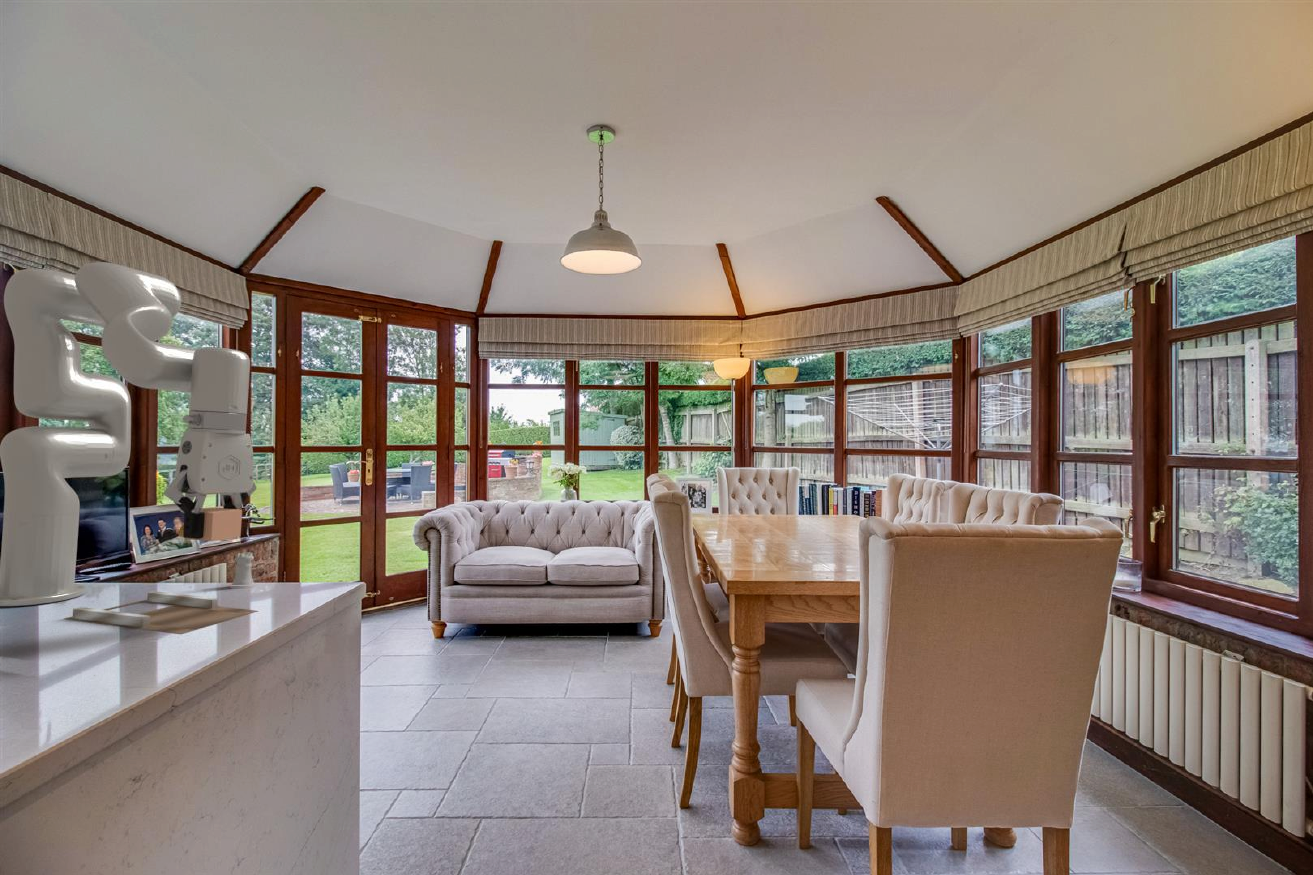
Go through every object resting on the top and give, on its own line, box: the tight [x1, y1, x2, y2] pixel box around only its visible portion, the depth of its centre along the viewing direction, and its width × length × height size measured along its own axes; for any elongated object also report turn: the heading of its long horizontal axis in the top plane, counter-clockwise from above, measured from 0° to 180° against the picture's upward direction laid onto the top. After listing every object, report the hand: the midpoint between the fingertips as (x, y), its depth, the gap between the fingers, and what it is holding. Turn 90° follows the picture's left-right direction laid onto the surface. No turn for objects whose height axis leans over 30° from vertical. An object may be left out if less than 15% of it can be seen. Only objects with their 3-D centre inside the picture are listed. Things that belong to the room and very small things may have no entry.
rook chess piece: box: [229, 551, 257, 590], centre depth 114 cm, size 4×4×8 cm
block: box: [185, 507, 243, 542], centre depth 92 cm, size 5×5×4 cm
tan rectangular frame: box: [63, 590, 259, 635], centre depth 94 cm, size 23×13×3 cm, turn 78°
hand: (210, 534), depth 93 cm, fingers closed on block, 4 cm apart
